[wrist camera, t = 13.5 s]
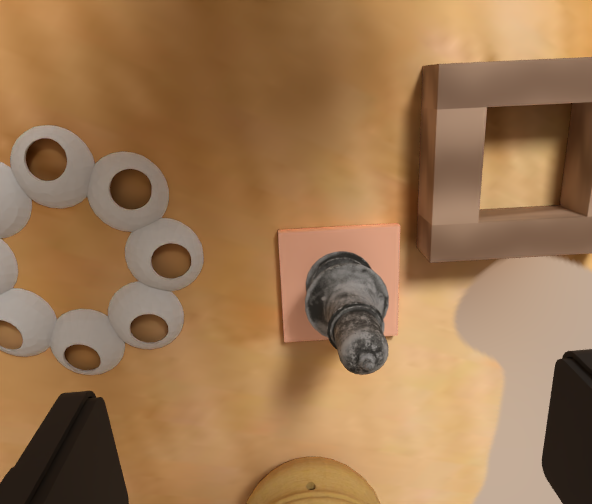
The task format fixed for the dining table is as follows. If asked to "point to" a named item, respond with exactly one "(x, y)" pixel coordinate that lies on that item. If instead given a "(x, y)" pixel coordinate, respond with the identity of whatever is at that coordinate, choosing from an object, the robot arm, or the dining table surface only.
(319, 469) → the pot
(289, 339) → the terracotta tile
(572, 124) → the brown square wooden frame
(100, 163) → the paint palette
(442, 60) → the dining table surface
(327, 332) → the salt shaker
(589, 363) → the robot arm
